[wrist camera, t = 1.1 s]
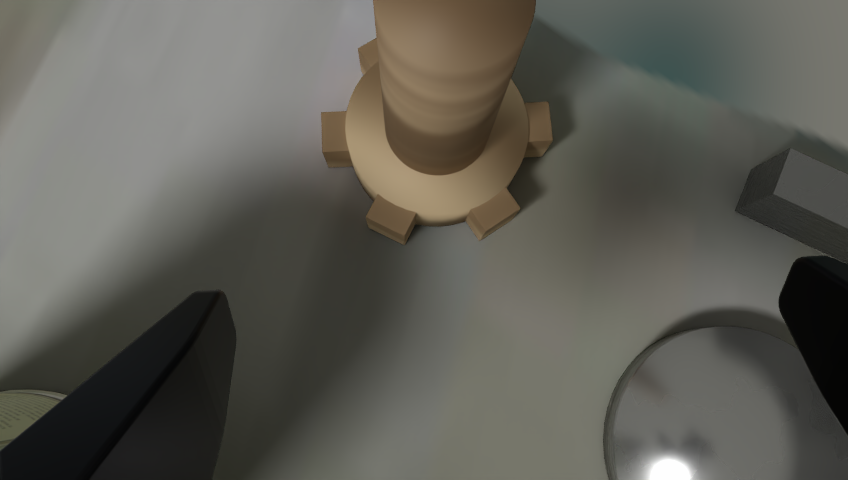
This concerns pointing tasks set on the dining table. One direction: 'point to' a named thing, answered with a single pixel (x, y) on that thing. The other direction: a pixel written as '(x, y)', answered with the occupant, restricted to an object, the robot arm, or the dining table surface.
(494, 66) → the gear
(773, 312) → the dining table surface
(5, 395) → the coffee can
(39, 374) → the dining table surface
